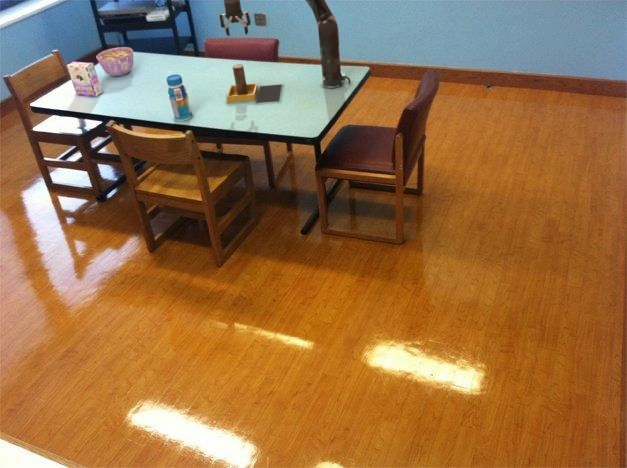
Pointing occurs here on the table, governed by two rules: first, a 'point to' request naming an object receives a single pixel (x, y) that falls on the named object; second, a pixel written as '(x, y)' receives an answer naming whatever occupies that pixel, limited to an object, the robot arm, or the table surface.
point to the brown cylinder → (240, 79)
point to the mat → (269, 93)
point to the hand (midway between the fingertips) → (237, 34)
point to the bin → (234, 97)
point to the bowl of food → (116, 60)
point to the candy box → (84, 78)
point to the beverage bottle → (178, 98)
